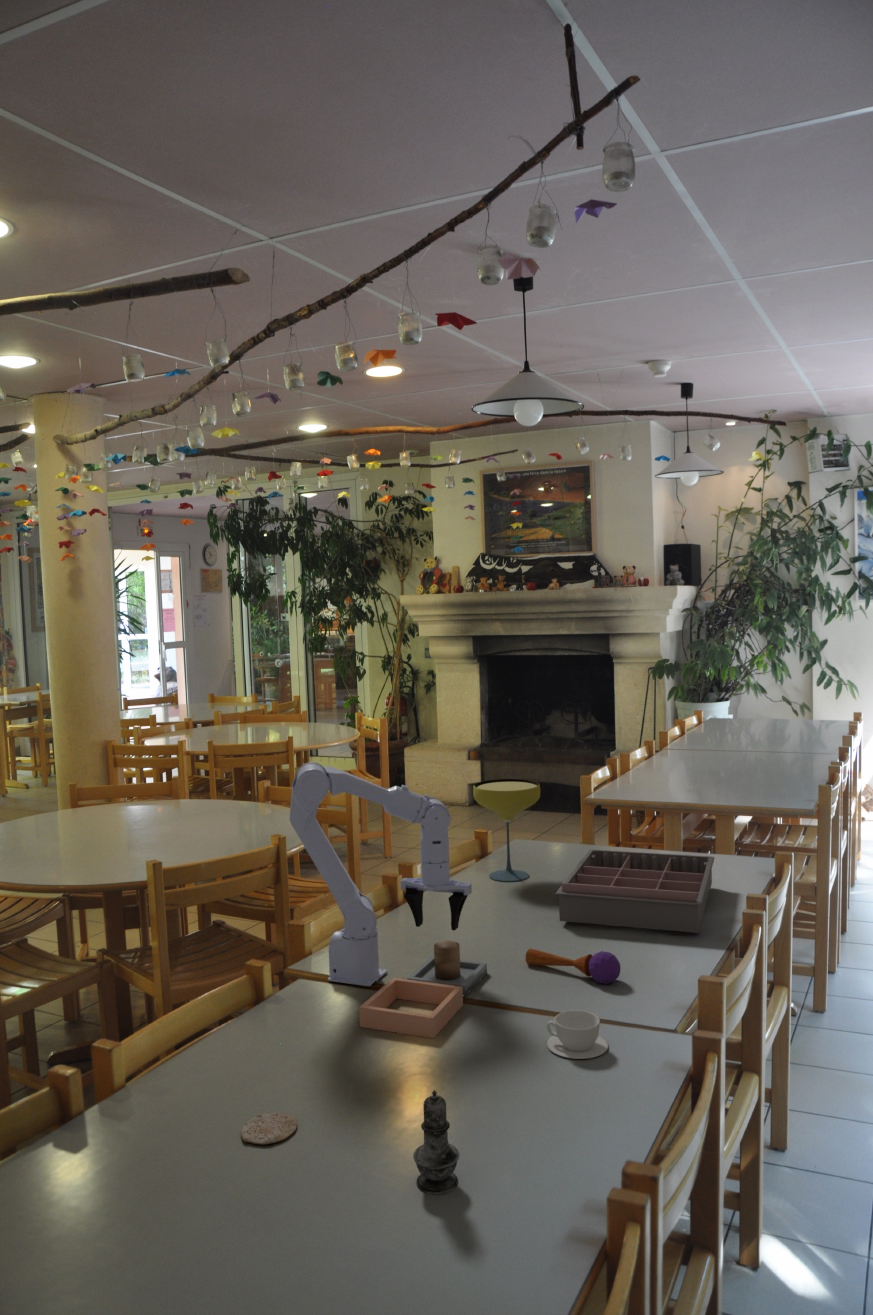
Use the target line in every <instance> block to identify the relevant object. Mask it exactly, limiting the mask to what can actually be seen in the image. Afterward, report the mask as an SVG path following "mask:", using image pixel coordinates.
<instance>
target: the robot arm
mask: <svg viewBox="0 0 873 1315" xmlns="http://www.w3.org/2000/svg"><path fill="white" fill-rule="evenodd" d="M291 785H292V786H291V797H290V798H291V799H290V807H289V822H290V824H291V826H292V828H293V829H294V831H295V833H296V835H297V836H298V838H299V841H301V843H302V846H304V848H305V850H306V852H307V853H308V855H309V857H310V859H311V860H312V862H313V864H314V865H315V867H316V868H317V870H318V872H319V874H320V875H321V877H322V879H323V881H324V882H325V884H326V886H327V888H328V890H329V891H330V892H331V894H332V896H333V898H334V900H335V902H336V904H337V906H338V909H339V910H340V913H341V914H342V917H343V921H344V922H343V923H344V927H343V928H342V929H341V930H336V931H334V932H333V934H331V937H330V938H329V942H328V961H329V962H328V967H329V968H328V969H329V971H328V972H329V977H327V981H328V982H334V983H341V984H342V983H343V984H346V985H347V984H348V985H356V986H362V987H372V984H373V983H374V982H375V981H376V982H377V981H379V980H380V979H381V978H382V977H384V976H385V974H387V973H388V970H387V969H386V968H385V969H383V968H380V965H379V957H380V956H379V935H378V933H379V930H378V928H377V925H378V920H377V916H376V913H375V911H374V906H373V903H372V901H371V899H370V897H368V895H367V896H366V895H365V894H363V893H362V892H361V891H360V889H359V888H358V886H357V884H355V882H354V881H353V879H352V877H351V876H350V874H349V872H348V871H347V869H346V867H345V865H344V864H343V862H342V860H341V859H340V857H339V855H338V854H337V852H336V850H335V849H334V847H333V845H332V843H331V842H330V840H329V838H328V836H327V835H326V834H325V831H324V830H323V829H322V827H321V825H320V823H319V821H318V820H317V817H316V816H317V813H318V810H319V807H320V806H319V805H320V804H321V803H322V802H323V800H324V799H325V798H326V796H327V795H328V793H330V797H334V796H337V795H340V794H343V793H345V794H350V795H353V796H356V797H359V798H361V799H364V800H367V801H371V802H374V803H376V804H380V805H382V807H383V810H384V812H385V813H386V814H388V815H391V816H393V817H395V818H399V819H402V820H404V821H406V822H410V823H412V824H421V825H420V838H419V841H420V870H421V871H420V872H421V873H420V874H421V875H420V876H421V877H413V878H410V877H404V878H402V879H401V880H400V890H401V891H405V892H404V894H403V897H404V900H405V901H406V902H407V904H408V907H409V908H410V910H411V913H412V917H413V919H414V923H415V924H414V925H415V927H417V928H420V927H421V926H422V925H423V922H424V912H423V902H424V901H423V899H424V894H425V893H424V892H436V893H448V894H449V893H450V894H451V895H450V896H449V897H448V902H449V907H450V928H451V931H456V930H457V929H458V928H459V924H460V923H459V922H460V918H461V914H462V911H463V908H464V905H465V903H466V901H467V898H468V897H469V895H471V894H472V892H473V891H472V889H473V888H472V883H471V882H465V881H459V880H454V879H451V877H450V876H451V875H450V874H451V873H450V868H451V867H450V837H449V826H450V825H451V821H452V817H451V816H450V811H449V810H448V808H447V807H446V806H445V804H444V803H443V802H442V801H440V800H439V799H437V798H436V797H433V796H432V797H431V795H429V794H424V795H422V794H419V793H417V792H414V791H412V790H409V788H410V787H408V786H407V785H404V784H401V786H398V785H394V786H392V787H389V788H386V787H383V786H380V785H378V784H376V783H373V782H371V781H369V780H366V779H364V778H362V777H359V776H357V775H355V774H352V773H349V772H347V771H345V770H342V769H339V768H336V767H334V766H333V767H332V766H329V765H325V767H324V766H323V765H322V764H320V763H319V762H318V763H317V762H312V761H311V762H306V763H304V764H302V765H301V766H300V767H299V769H297V772H296V774H295V776H294V778H293V781H292V783H291ZM379 978H380V979H379ZM376 982H375V983H376ZM375 983H374V984H375Z"/></svg>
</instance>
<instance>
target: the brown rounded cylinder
mask: <svg viewBox="0 0 873 1315" xmlns="http://www.w3.org/2000/svg"><path fill="white" fill-rule="evenodd" d="M460 951H461V950H460V943H459V942H457V941H452V940H442V941H438V942H436V943H434V944H433V957H434V963H435V977H436V978H437V979H439V980H455V979H457V978H459V977H460V960H461V954H460Z"/></svg>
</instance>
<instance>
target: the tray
mask: <svg viewBox="0 0 873 1315" xmlns="http://www.w3.org/2000/svg"><path fill="white" fill-rule="evenodd" d="M487 973H488V964H487V962H483V961H482V962H480V961H472V960H465V959H460V977H459V978H457V979H455V980H439V979H437V978H436V977H435V963H434V955H432V956H430V957H428V959H426V961H424V962H423V963H422V964H421V965H420V966H419V967H418V968H416V969H415V971H413V972H412V973H411V974H410V975H409V976H407V978H406V979H407V980H415V981H423V982H430V983H438V984H445V985H453V986H460V987H462V989H463V995H464V996H463V997H467V996H468V995H469V993H470V992H471V991H472V990H473V989H474V988H475V987H476V986H477V985H478V983H480V981H481V980H482V979H483V978H484V977H485V976H486V975H487ZM485 974H486V975H485ZM484 975H485V976H484ZM483 976H484V977H483ZM482 977H483V978H482ZM481 978H482V979H481ZM480 979H481V980H480ZM477 982H478V983H477ZM475 985H476V986H475ZM474 986H475V987H474ZM473 987H474V988H473ZM472 988H473V989H472ZM471 989H472V990H471ZM470 990H471V991H470ZM469 991H470V992H469Z"/></svg>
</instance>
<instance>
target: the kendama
mask: <svg viewBox="0 0 873 1315" xmlns="http://www.w3.org/2000/svg"><path fill="white" fill-rule="evenodd" d="M525 962H526V964H527V965H528V966H546V967H547V966H555V967H556V966H557V967H559V966H560V967H574V968H575V969H577V970H578V971H579V972H581V974H584V975H585V976H586V977H592V979H593V980H594V981H595V982H597V983H598V984H603V985H609V984H611V983H614V982H615V981H617V979H618V978H619V976H620V974H621V962H620V961H619V959H618V958H617V956H616V955H614V954H613V953H612V952H610V951H609V952H608V951H603V950H602V951H598V952H596V953H594V954H591V953H589V954H586V955H584V956H582V957H579V958H576V959H571V958H568V957H567V958H566V957H563V956H560V955H557V954H553V953H549V952H546V951H542V950H538V949H534V948H532V947H531V948H528V949H527V950H526V953H525Z"/></svg>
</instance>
